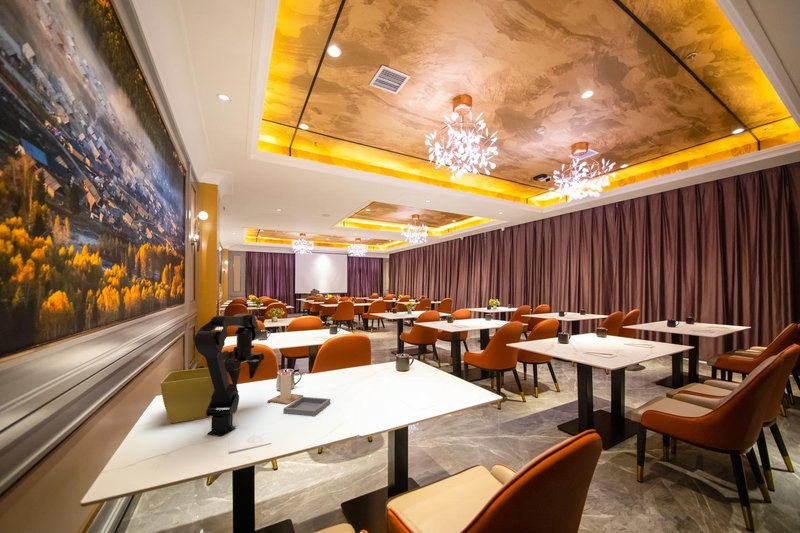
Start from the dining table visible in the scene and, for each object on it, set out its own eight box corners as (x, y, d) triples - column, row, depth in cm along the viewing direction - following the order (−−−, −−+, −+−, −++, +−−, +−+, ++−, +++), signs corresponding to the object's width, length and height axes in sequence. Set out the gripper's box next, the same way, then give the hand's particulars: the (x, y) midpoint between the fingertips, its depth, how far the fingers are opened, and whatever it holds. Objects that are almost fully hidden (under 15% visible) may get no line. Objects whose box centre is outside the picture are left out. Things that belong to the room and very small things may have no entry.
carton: (290, 399, 141) (291, 373, 141) (280, 400, 139) (280, 374, 140) (291, 395, 145) (291, 371, 146) (280, 396, 144) (281, 372, 144)
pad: (287, 405, 135) (287, 403, 135) (267, 402, 139) (267, 400, 139) (303, 397, 145) (303, 395, 145) (284, 394, 149) (284, 392, 149)
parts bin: (314, 417, 122) (314, 411, 122) (283, 414, 125) (283, 408, 126) (330, 404, 136) (330, 398, 136) (302, 402, 139) (302, 396, 139)
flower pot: (168, 411, 130) (170, 371, 132) (220, 403, 139) (221, 365, 140) (157, 429, 113) (159, 383, 115) (217, 419, 122) (218, 375, 123)
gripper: (244, 339, 139) (243, 374, 138) (209, 347, 121) (208, 387, 120) (265, 340, 137) (264, 376, 136) (233, 348, 119) (232, 389, 118)
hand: (243, 381), depth 127 cm, fingers open, 9 cm apart
